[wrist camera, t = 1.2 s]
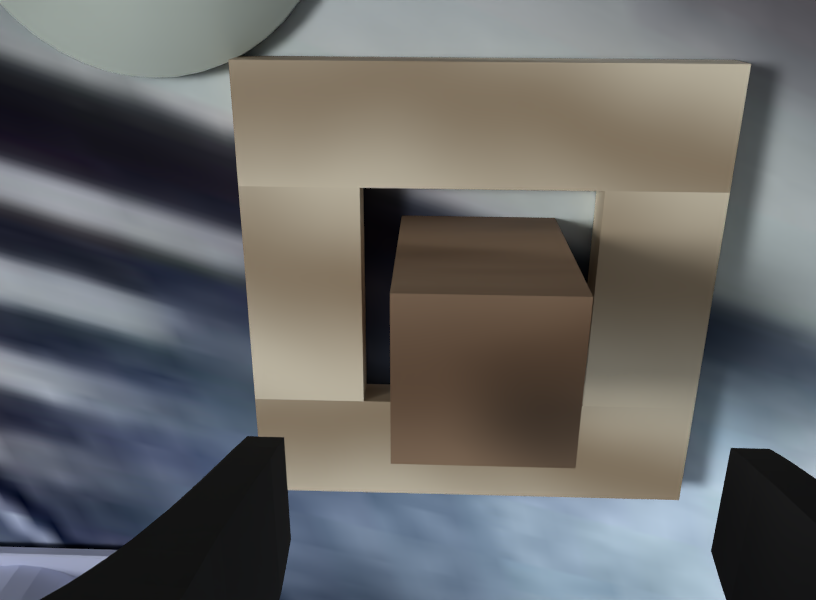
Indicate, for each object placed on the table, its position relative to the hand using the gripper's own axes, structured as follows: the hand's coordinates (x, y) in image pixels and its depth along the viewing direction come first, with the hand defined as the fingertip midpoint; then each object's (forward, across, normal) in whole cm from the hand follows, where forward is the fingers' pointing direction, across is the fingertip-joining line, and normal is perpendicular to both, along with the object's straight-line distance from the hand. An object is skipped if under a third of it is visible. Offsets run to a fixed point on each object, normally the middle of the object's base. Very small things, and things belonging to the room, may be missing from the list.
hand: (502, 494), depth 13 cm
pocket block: (+9, 0, 0) cm, 9 cm away
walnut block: (+9, 0, 0) cm, 9 cm away
